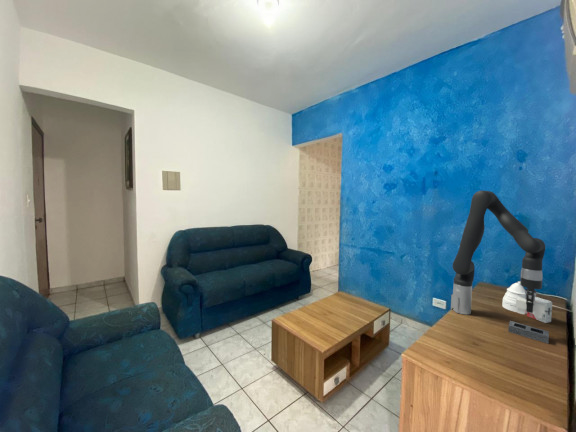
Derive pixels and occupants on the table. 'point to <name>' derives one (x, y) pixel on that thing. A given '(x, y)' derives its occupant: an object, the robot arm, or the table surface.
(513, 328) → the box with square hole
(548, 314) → the ink box
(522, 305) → the light grey box
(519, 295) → the honey pot
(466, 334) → the table surface
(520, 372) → the table surface
